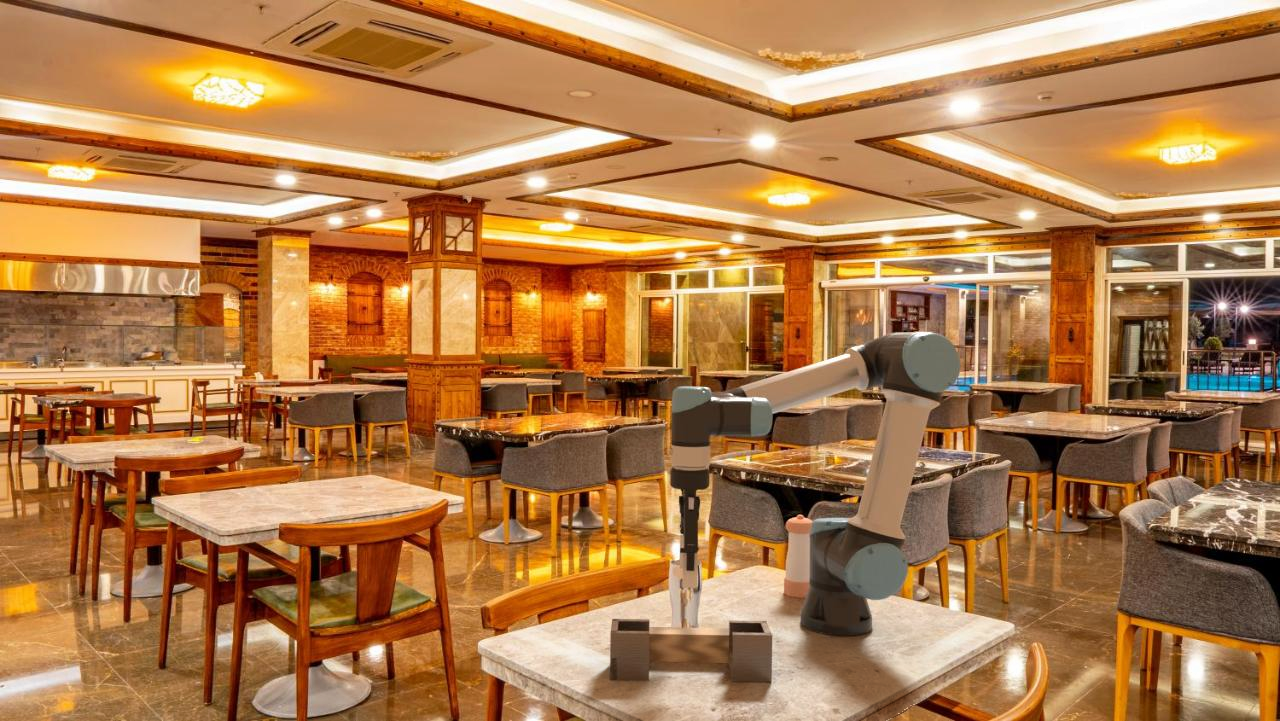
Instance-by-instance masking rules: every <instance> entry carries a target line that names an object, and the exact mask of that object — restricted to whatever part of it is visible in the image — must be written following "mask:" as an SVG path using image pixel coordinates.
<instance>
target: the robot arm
mask: <svg viewBox="0 0 1280 721" xmlns="http://www.w3.org/2000/svg"><path fill="white" fill-rule="evenodd" d="M960 358H961V357H960V355H959V352H958V350H957V348H956V347H955V345H954V344H953V342H952V341H951V340H950V339H949V338H948V337H946V336H944V335H942V334H939V333H937V332H936V333H935V332H930V331H925V330H924V331H923V330H921V331H917V332H915V331H913V332H912V331H911V332H910V331H909V332H903V331H901V332H900V331H899V332H897V331H896V332H892V333H888V334H884V335H882V336H880V337H877V338H873V339H871V340H869V341H866V342H863V343H860V344H857V345H855V346H852V347H849V348H847V349H846V350H845V352H844V354H842V355H839V356H835V357H832V358H828V359H826V360H822V361H819V362H816V363H812V364H809V365H806V366H803V367H800V368H796V369H792V370H790V371H786V372H783V373H780V374H777V375H773V376H770V377H767V378H763V379H760V380H757V381H754V382H750V383H747V384H745V385H741V386H739V387H734V388H731V389H728V390H724V391H714V392H712V390H711V388H710V387H708V386H707V387H706V386H689V385H687V386H685V385H684V386H677V387H676V388H674V390H673V391H672V396H671V408H670V412H671V416H670V417H671V418H670V420H671V423H670V424H671V426H670V428H671V431H670V432H671V439H670V447H671V449H670V448H669V449H667V454H668V455H670V465H671V466H673V467H671V468H670V472H669V474H670V475H669V485H670V487H671V488H673V489H675V490H680V491H681V495H678V505H679V514H680V524H679V529H680V530H679V533H680V536H679V558H680V568H683V570H682V588H697V563H698V560H699V559H698V555H699V553H698V552H699V550H700V547H699V519H700V509H701V498H700V496H697V491H698V490H700V491H702V490H703V491H704V490H707V489H708V488H709V487H710V475H711V474H710V473H711V472H710V469H709V468H708V467H710V465H711V437H722V436H723V437H751V438H753V437H759V436H760V437H761V436H766V435H768V434H769V433H770V431H771V430H772V425H773V417H774V416H773V414H777V413H779V412H783V411H786V410H788V409H789V410H790V409H792V408H795V407H798V406H799V407H800V406H802V405H806V404H809V403H812V402H815V401H818V400H821V399H824V398H828V397H831V396H834V395H837V394H840V393H844V392H846V391H847V392H848V391H850V390H852V389H856V390H858V391H866V390H869V389H873V388H879V387H882V388H881V392H882V393H883V395H884V397H885V399H886V401H885V407H884V409H883V414H882V417H881V421H880V425H879V430H878V432H877V437H876V441H875V445H874V449H873V452H872V456H871V460H870V463H869V466H868V471H867V475H866V479H865V484H864V487H863V489H862V490H863V491H862V494H861V497H860V498H861V499H860V502H859V506H858V510H857V513H856V515H854V516H852V517H823V518H816V519H814V520H812V521H813V522H812V523H811V528H810V534H809V537H810V573H809V577H810V579H809V589H808V592H807V595H806V598H804V601H803V603H802V604H803V605H802V607H801V610H800V624H801V625H802V626H803V627H804V628H806V629H808V630H810V631H813V632H817V633H820V634H823V635H832V636H858V635H863V634H866V633H869V632H870V631H871V630H873V616H872V611H871V609H870V606H869V602H868V600H871V601H880V600H881V601H882V600H885V599H888V598H890V597H892V595H895V594H897V593H898V592H899V591H900V590H901V588H902V587H903V586H904V584H905V583H906V582H905V581H906V580H907V576H908V573H909V572H908V570H909V565H908V564H909V563H908V562H907V559H906V556H905V554H904V553H903V552H902V551H903V548H904V545H905V540H906V535H905V534H904V532H903V530H902V529H901V524H902V521H903V516H904V512H905V509H906V504H907V501H908V497H909V493H910V489H911V486H912V481H913V478H914V475H915V469H916V466H917V462H918V458H919V455H920V450H921V447H922V442H923V438H924V436H925V432H926V427H927V424H928V420H929V416H930V413H931V411H932V410H933V409H935V408H937V407H939V406H941V403H942V402H941V401H942V398H943V394H944V391H946V390H948V389H949V388H950V387H952V386H953V385H955V383H957V380H958V379H959V375H960V373H961V359H960Z"/></svg>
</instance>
